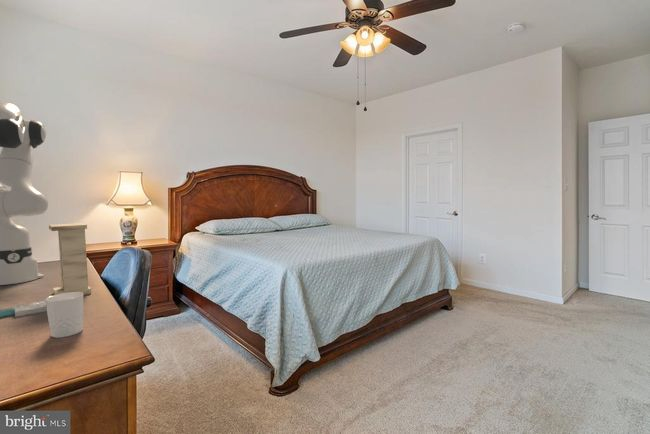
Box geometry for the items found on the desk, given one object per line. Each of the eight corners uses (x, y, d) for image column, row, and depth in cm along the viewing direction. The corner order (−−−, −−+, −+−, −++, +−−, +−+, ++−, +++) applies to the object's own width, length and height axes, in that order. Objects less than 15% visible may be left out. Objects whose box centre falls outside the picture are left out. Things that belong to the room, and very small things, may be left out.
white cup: (92, 328, 90) (90, 293, 89) (61, 340, 83) (58, 302, 82) (72, 325, 93) (70, 290, 92) (40, 336, 85) (38, 299, 85)
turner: (-44, 328, 91) (-45, 322, 91) (-42, 320, 97) (-42, 314, 97) (49, 310, 105) (49, 305, 105) (46, 304, 111) (46, 299, 111)
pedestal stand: (53, 292, 124) (48, 224, 122) (85, 287, 131) (81, 222, 129) (56, 299, 116) (51, 226, 114) (91, 293, 123) (86, 224, 121)
